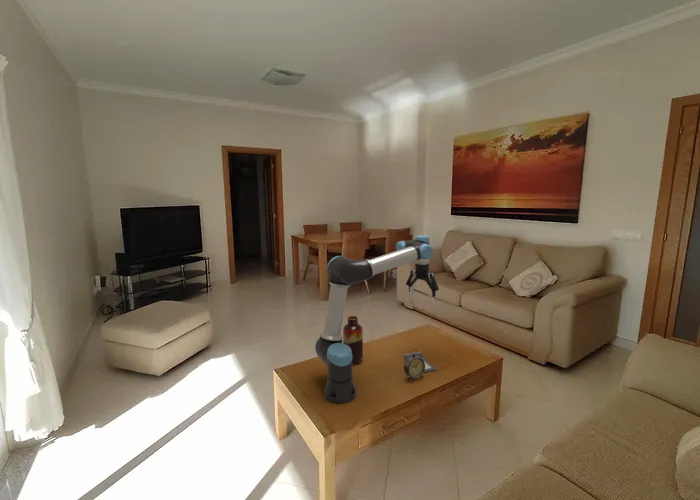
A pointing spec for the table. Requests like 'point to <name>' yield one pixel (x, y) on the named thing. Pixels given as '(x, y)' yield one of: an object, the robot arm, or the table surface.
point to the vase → (354, 338)
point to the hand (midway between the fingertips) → (421, 299)
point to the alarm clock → (414, 366)
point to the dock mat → (428, 366)
